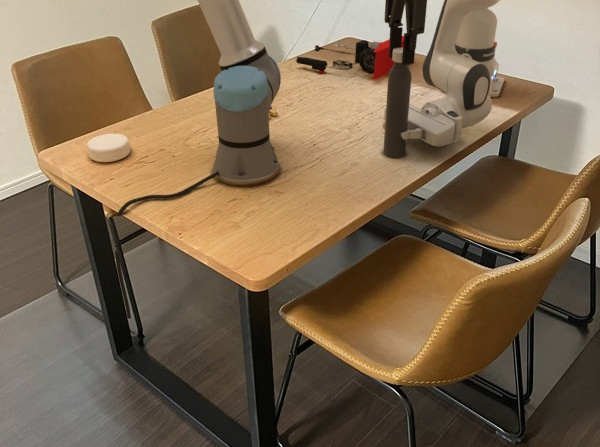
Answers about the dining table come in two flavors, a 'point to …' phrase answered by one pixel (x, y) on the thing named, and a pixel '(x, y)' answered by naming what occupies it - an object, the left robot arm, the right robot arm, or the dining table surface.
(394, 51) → the cap
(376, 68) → the electric hoist
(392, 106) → the bottle
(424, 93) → the dining table surface
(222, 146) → the left robot arm
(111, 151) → the white round disc
